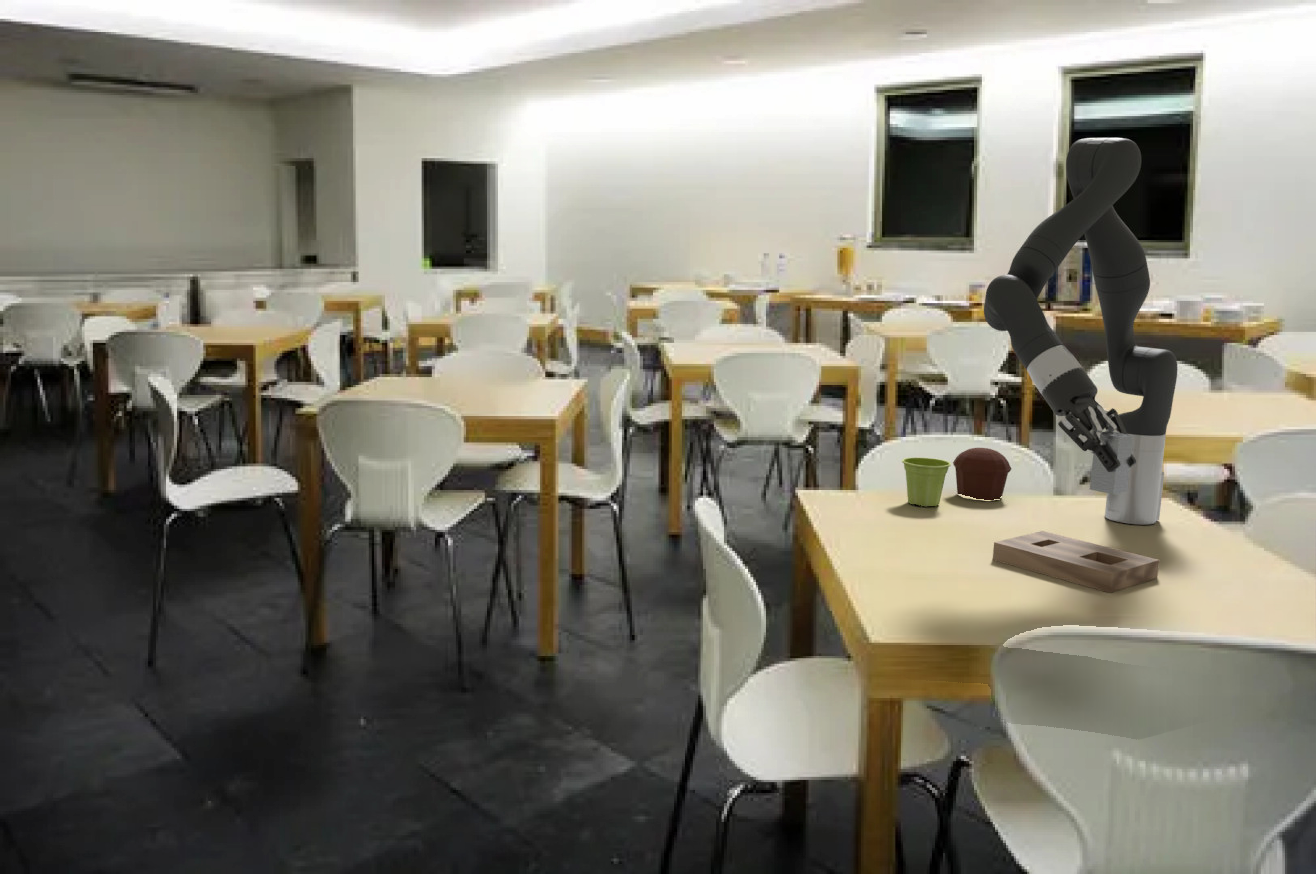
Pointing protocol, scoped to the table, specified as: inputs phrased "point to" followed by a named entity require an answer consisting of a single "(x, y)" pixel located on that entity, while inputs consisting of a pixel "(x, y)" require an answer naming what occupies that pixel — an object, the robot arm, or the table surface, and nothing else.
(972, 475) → the muffin
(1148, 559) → the plate
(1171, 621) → the table surface
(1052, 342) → the robot arm
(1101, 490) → the square bit
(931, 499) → the plant pot
